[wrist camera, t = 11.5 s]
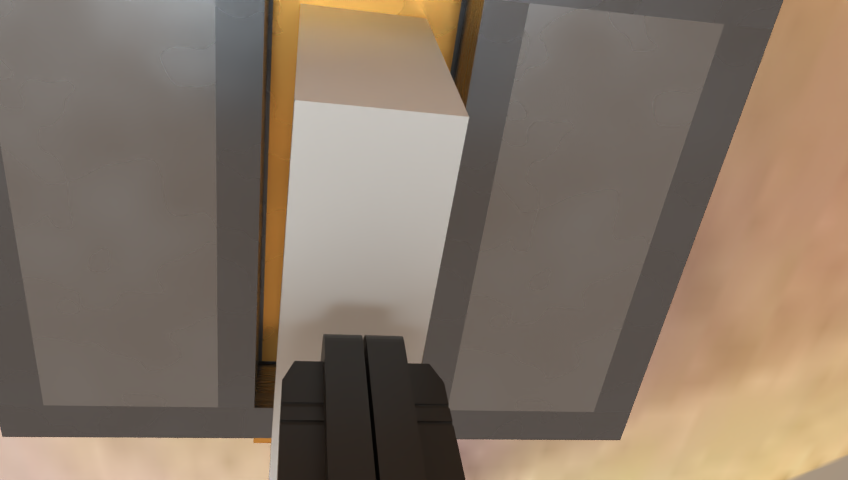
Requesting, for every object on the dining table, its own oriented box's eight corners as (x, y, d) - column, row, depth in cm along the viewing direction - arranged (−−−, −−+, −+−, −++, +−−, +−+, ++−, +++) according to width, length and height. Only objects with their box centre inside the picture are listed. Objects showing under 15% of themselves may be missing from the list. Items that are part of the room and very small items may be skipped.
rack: (739, -49, 19) (792, -25, 17) (593, 392, 27) (617, 446, 24) (-61, -150, 16) (-117, -136, 14) (31, 382, 23) (4, 444, 21)
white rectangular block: (426, 18, 18) (469, 117, 13) (377, 342, 23) (394, 502, 18) (300, 3, 18) (294, 99, 13) (277, 338, 23) (267, 501, 18)
